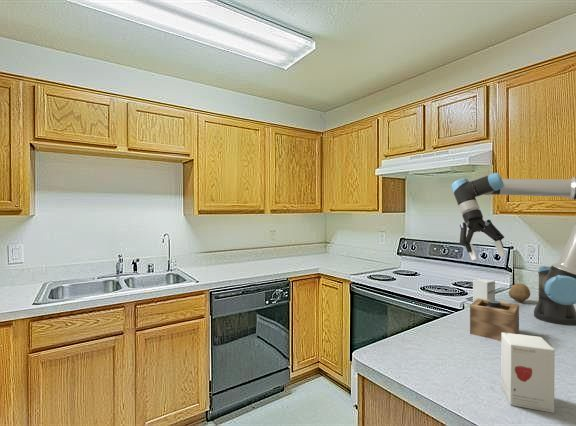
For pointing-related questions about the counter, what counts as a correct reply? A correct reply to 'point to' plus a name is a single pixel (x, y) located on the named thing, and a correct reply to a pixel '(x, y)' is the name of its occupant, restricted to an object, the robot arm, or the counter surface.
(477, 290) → the supplement box
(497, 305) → the supplement bottle
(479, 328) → the box
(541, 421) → the counter surface
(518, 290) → the natural sponge
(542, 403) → the supplement box
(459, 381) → the counter surface
